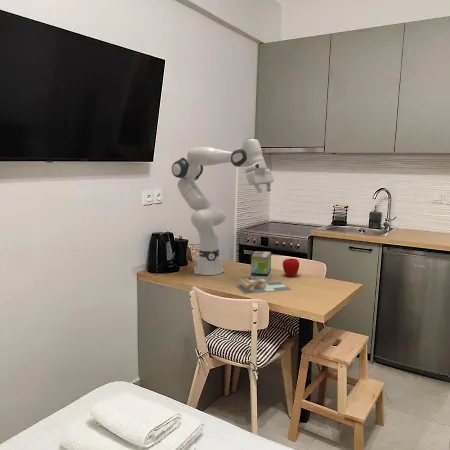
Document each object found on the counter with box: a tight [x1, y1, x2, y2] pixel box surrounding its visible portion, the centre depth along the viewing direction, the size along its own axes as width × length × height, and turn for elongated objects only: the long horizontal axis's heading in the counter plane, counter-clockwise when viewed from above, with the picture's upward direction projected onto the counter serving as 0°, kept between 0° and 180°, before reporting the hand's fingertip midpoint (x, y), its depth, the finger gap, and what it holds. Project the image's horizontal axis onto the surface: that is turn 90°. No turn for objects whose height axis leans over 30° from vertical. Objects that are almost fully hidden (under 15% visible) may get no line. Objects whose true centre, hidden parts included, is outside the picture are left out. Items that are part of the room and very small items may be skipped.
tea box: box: [250, 250, 272, 282], centre depth 239 cm, size 15×10×15 cm, turn 168°
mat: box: [234, 281, 292, 295], centre depth 221 cm, size 16×26×1 cm, turn 106°
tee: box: [238, 277, 267, 293], centre depth 219 cm, size 12×12×4 cm
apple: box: [282, 257, 300, 277], centre depth 246 cm, size 10×10×11 cm
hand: (264, 191), depth 225 cm, fingers open, 8 cm apart
